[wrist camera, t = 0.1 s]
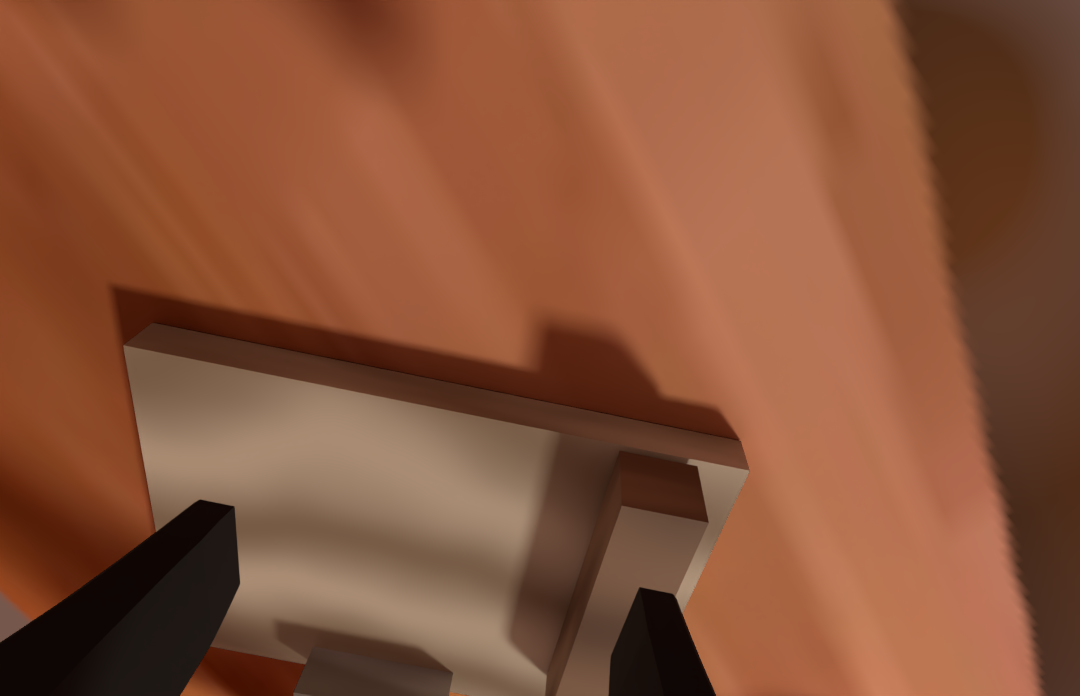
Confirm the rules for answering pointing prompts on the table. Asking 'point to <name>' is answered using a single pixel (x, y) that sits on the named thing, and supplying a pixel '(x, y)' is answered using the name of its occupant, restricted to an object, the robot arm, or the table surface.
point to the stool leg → (627, 564)
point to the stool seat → (393, 509)
